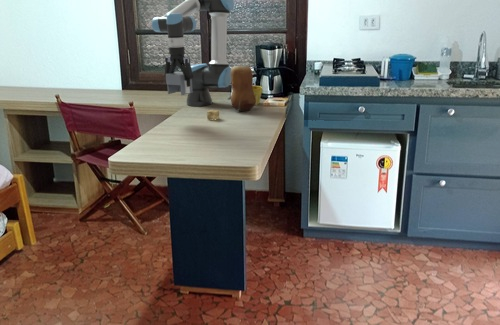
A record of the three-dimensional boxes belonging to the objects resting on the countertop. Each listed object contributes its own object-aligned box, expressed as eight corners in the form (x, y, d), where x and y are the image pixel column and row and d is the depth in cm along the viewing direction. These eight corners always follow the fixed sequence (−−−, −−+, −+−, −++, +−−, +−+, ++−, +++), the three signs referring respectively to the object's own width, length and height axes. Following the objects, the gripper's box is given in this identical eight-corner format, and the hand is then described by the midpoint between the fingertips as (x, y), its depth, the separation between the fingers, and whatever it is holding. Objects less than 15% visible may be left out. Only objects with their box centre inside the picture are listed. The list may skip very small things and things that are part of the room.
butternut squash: (243, 106, 278) (242, 62, 270) (260, 110, 269) (259, 64, 261) (225, 111, 269) (223, 65, 261) (242, 114, 260) (241, 67, 252)
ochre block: (207, 119, 252) (206, 111, 250) (212, 118, 255) (212, 109, 254) (214, 120, 250) (214, 112, 248) (219, 118, 253) (219, 110, 252)
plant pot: (260, 105, 280) (260, 88, 276) (243, 105, 282) (242, 88, 278) (263, 102, 289) (263, 85, 286) (246, 101, 291) (246, 85, 288)
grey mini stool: (167, 94, 242) (165, 74, 239) (178, 91, 249) (177, 71, 246) (181, 95, 237) (179, 75, 234) (192, 92, 245) (191, 72, 241)
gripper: (154, 46, 238) (158, 92, 246) (189, 47, 227) (192, 95, 235) (164, 45, 244) (168, 89, 252) (199, 46, 233) (201, 92, 241)
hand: (179, 92), depth 243 cm, fingers closed on grey mini stool, 9 cm apart
